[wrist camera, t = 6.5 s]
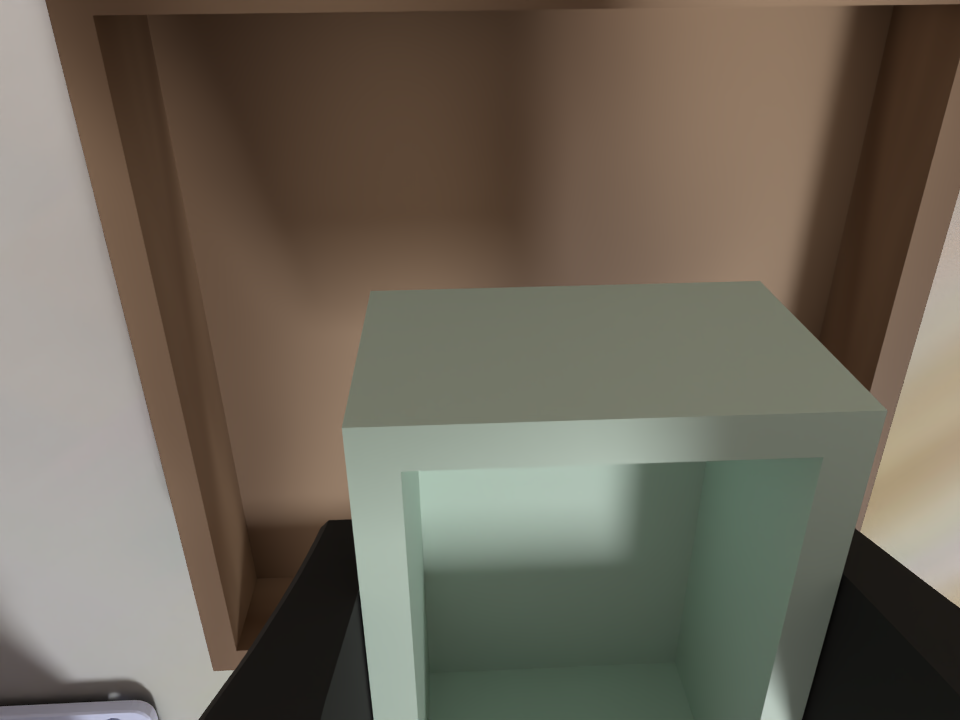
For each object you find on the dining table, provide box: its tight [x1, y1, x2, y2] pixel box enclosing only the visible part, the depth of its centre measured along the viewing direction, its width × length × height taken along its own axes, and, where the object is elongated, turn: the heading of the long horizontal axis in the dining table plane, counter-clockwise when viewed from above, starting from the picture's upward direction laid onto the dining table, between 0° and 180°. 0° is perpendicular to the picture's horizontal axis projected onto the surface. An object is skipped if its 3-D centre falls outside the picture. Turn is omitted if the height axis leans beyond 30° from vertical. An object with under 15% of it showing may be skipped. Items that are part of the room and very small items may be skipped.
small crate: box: [342, 281, 888, 720], centre depth 10 cm, size 5×7×3 cm
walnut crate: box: [45, 0, 960, 671], centre depth 15 cm, size 14×14×3 cm
